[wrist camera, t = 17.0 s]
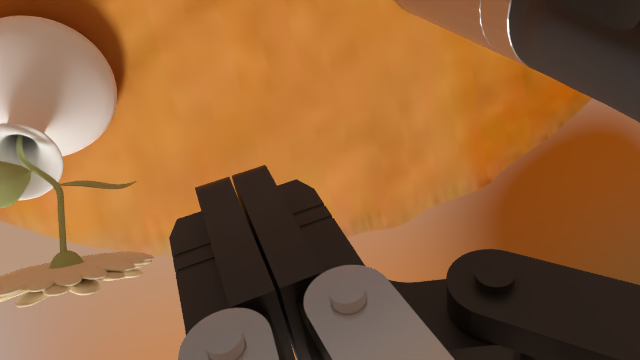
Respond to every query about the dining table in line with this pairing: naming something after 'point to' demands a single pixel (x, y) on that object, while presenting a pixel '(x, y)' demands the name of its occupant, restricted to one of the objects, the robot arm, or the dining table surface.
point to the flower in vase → (53, 143)
